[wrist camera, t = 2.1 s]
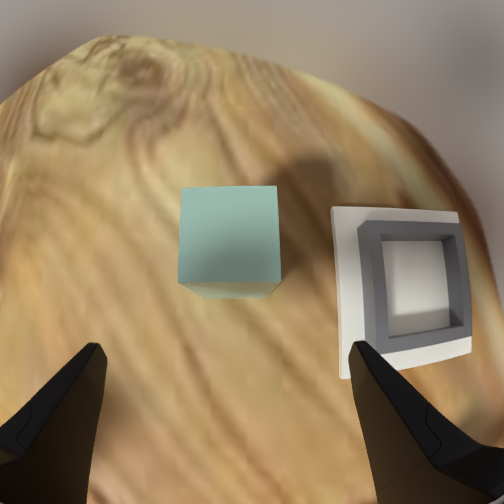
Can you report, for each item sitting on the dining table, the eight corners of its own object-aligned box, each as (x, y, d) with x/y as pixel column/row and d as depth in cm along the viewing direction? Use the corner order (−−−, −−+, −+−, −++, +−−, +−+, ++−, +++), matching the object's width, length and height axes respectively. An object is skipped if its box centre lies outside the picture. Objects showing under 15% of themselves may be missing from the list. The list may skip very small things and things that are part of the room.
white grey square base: (465, 351, 20) (485, 353, 17) (339, 377, 20) (351, 384, 17) (452, 214, 23) (469, 204, 20) (329, 209, 23) (340, 195, 20)
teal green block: (266, 297, 21) (281, 281, 12) (205, 298, 21) (177, 282, 12) (264, 238, 22) (276, 186, 13) (205, 239, 22) (182, 188, 13)
